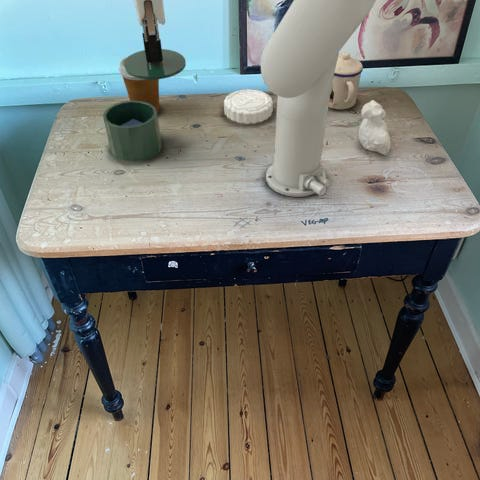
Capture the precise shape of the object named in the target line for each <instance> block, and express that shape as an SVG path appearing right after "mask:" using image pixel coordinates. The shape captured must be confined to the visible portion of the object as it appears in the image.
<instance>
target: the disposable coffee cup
mask: <svg viewBox="0 0 480 480" xmlns="http://www.w3.org/2000/svg"><path fill="white" fill-rule="evenodd" d="M129 56H130V55H127V56H125V57H124V58H122V59H121V60H120V62H119V67H118V71H119V73H120V75H121V76H122V79H123V84H124V86H125V88H126V92H127V95H128V98H129V101H143V102H146V103H150V104H151V105H153V106H154V107H155V108H156V111H157V113H158V112H159V111H160V84H159V83H160V79H155V80H149V79H140V78H136V77H133V76H131V75H129V74H128V73H127V72H126V71H125V69H124V61H125V60H126V58H127V57H129Z"/></svg>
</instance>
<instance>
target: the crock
mask: <svg viewBox="0 0 480 480" xmlns="http://www.w3.org/2000/svg"><path fill="white" fill-rule="evenodd" d="M102 118H103V124H104V127H105V131H106V135H107V140H108V144H109V145H108V146H109V149H110V153H111V155H112V156H114V157H115V158H116V159H118V160H120V161H123V162H134V163H135V162H142V161H146V160H149V159H151V158H154V157H155V156H156V155H158V154H159V153H160V151H161V149H162V147H163V145H162V136H161V131H160V124H159V117H158V112H157V111H156V108H155V107H154V106H153V105H151V104H150V103H146V102H143V101H130V100H125V101H120V102H118V103H115V104H111V106H109V107H108V108H106V109H105V110H104V112H103V114H102ZM132 119H135V120H137V121H139V122H141V123H142V124H139V125H134V126H121V125H123V124H125V123H126V122H128V121H130V120H132Z"/></svg>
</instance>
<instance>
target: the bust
mask: <svg viewBox="0 0 480 480" xmlns="http://www.w3.org/2000/svg"><path fill="white" fill-rule="evenodd" d="M360 114H361V115H360V116H361V118H362V120H361V123H360V127H359V130H358V141H359V143H360V144H361V146H362V147H363V149H364V150H367V151H370V152H377V153H379V154H381V155H383V156H387V155H388V154H389V152H390V149H391V139H390V135H389V130H388V127H387V123H386V122H385V121H384V120H383V118H385V117H386V116H387V112H386V111H385V110H384V108H383V106H382V105H381V104H380V103H379V102H377V101H376V100H374V99H372V100H370V101H369V102H367V103H365V104H364V105H363V107H362V109H361V113H360Z"/></svg>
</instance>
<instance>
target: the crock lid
mask: <svg viewBox="0 0 480 480" xmlns="http://www.w3.org/2000/svg"><path fill="white" fill-rule="evenodd" d="M128 56H129V57H127V56H126V57H127V58H126V60H125V61H124V69H125V71H126V72H127V73H128V74H129V75H131V76H133V77H136V78H140V79H149V80H155V79H159V80H162V79H163V80H164V79H168V78H172V77H174V76H177V75H178V74H180V73H181V72H183V71H184V69H185V68H186V66H187V65H186V64H187V61H186V58H185V57H184V55H182V54H181V53H180V52H178V51H175V50H171V49H167V48H162V56H163V61H162V62H153V63H148V62H147V60H146V54H145V49H143V50H140V51H136V52H134V53H132V54H130V55H128Z"/></svg>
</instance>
